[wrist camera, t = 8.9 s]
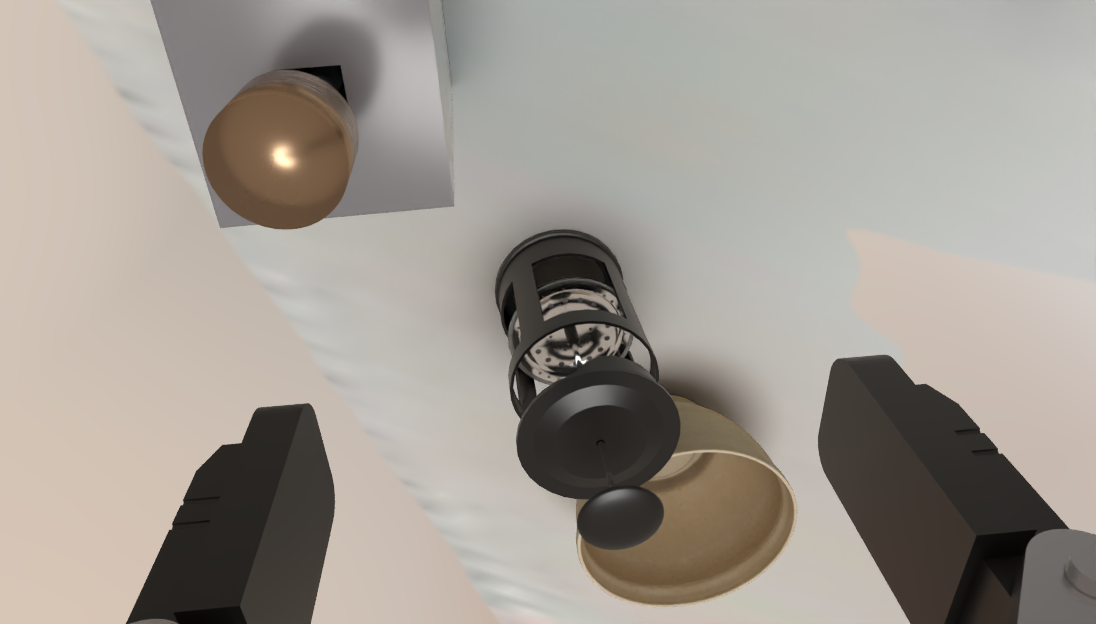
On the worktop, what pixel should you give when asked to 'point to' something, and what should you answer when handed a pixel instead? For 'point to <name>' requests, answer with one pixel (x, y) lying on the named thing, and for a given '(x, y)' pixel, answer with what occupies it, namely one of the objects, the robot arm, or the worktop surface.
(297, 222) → the plunger
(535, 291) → the french press
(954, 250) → the worktop surface
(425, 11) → the block
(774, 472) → the planter bowl
